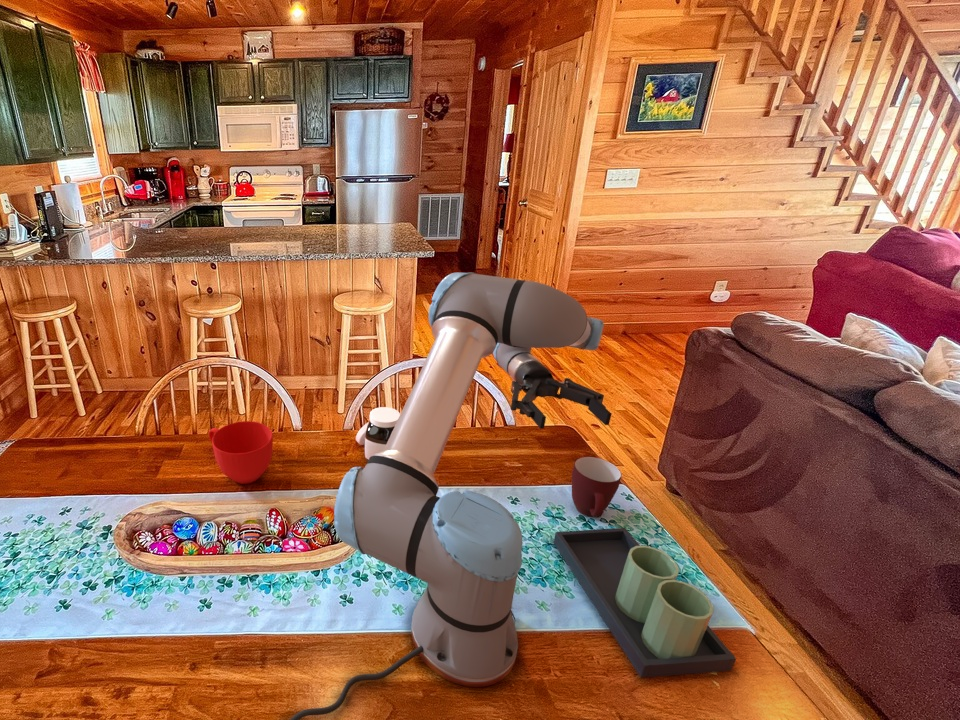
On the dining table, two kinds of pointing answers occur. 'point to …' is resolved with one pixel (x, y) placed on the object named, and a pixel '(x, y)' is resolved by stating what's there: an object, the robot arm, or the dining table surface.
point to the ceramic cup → (242, 450)
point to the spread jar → (377, 430)
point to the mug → (594, 485)
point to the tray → (599, 574)
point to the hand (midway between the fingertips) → (576, 421)
